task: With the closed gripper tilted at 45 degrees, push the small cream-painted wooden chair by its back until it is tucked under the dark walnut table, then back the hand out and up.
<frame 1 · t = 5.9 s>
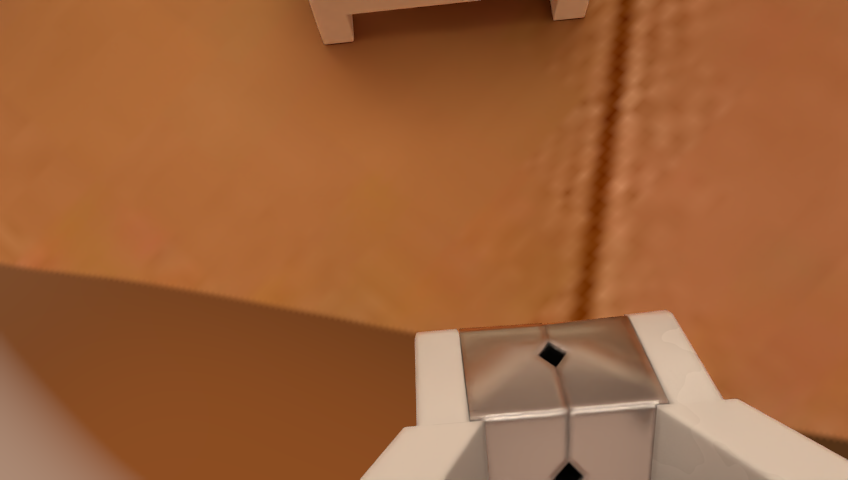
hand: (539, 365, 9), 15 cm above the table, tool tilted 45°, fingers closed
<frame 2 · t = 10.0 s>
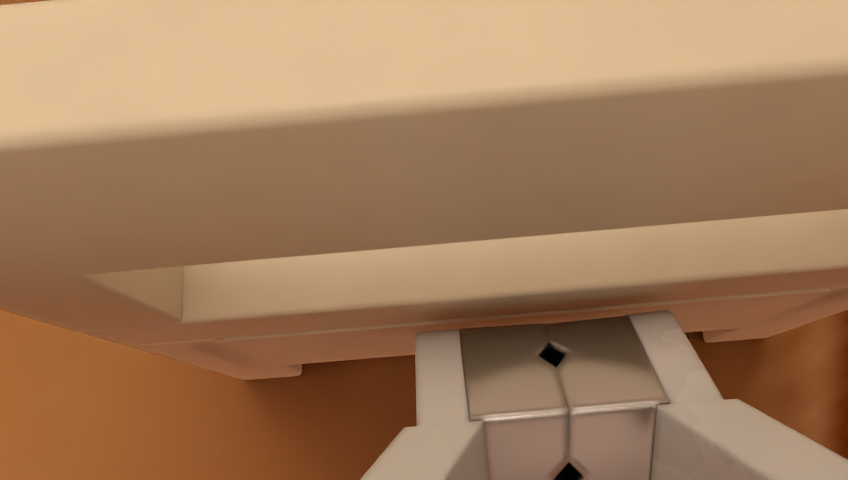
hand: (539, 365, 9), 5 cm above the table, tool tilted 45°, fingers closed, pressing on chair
chair: (476, 119, 15), on the table, touching gripper
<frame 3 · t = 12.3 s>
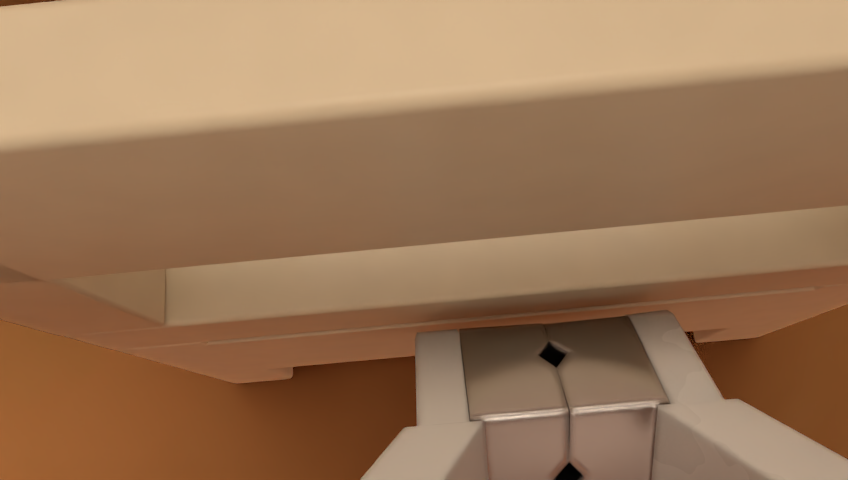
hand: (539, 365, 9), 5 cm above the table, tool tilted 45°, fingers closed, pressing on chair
chair: (466, 121, 15), on the table, touching gripper
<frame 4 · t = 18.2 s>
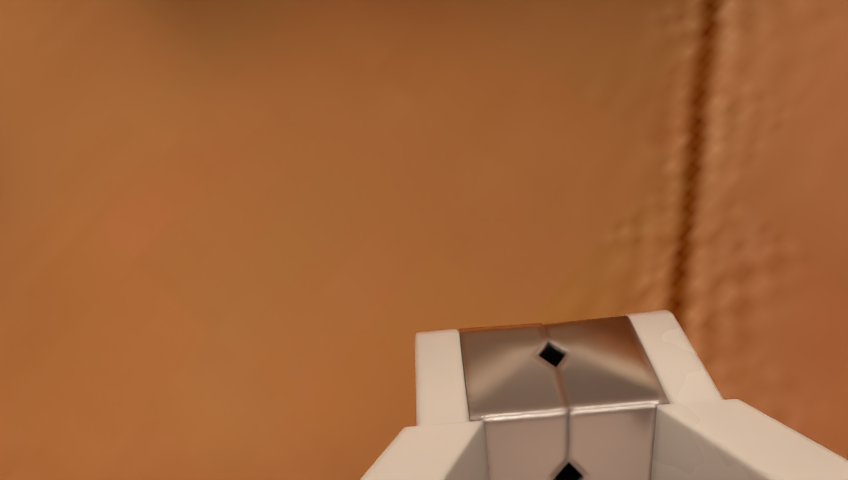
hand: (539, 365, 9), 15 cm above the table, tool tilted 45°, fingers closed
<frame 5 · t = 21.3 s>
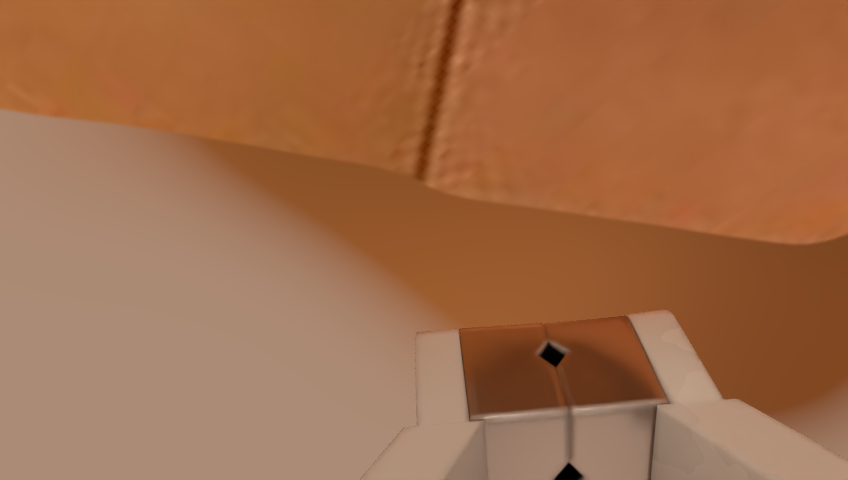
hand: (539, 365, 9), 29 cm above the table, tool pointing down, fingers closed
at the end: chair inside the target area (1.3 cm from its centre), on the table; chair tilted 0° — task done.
